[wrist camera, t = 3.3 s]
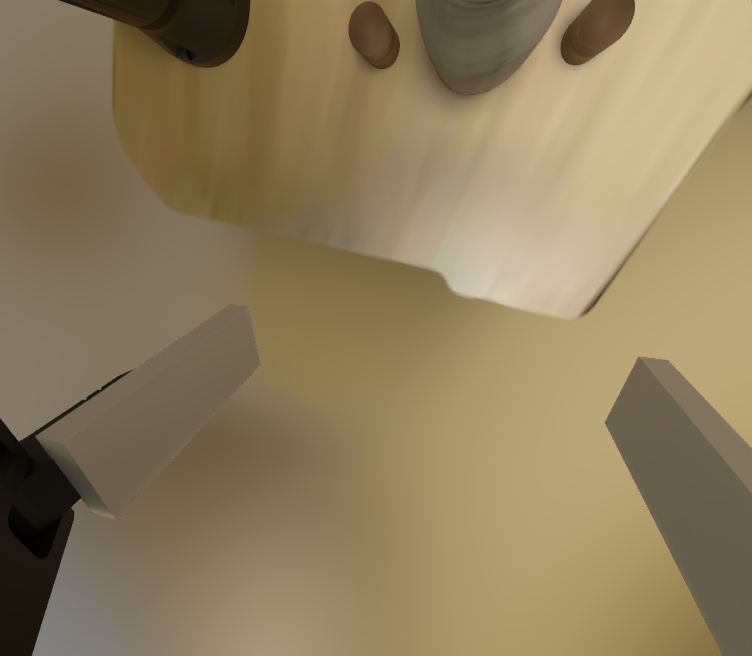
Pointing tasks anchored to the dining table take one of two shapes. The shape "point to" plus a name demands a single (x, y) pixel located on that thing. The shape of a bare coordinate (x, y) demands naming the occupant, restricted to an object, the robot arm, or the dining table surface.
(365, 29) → the cylinder
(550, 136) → the dining table surface
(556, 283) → the dining table surface
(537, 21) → the grey ceramic vase
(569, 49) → the cylinder
